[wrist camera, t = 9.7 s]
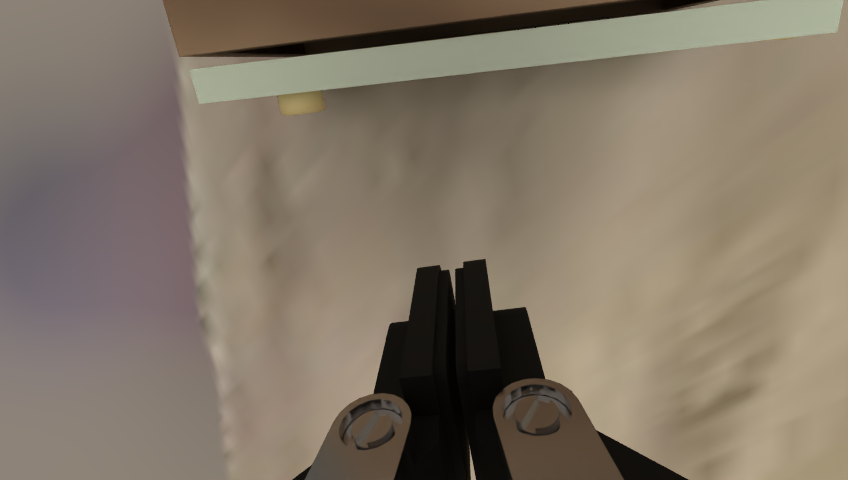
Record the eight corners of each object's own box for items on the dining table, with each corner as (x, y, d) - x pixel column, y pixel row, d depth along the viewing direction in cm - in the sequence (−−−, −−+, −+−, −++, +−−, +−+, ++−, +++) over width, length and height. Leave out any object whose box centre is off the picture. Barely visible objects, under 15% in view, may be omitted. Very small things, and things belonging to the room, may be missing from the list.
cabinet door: (291, 62, 26) (188, 66, 16) (679, 16, 24) (846, -14, 14) (299, 103, 27) (206, 131, 17) (674, 61, 25) (829, 64, 15)
